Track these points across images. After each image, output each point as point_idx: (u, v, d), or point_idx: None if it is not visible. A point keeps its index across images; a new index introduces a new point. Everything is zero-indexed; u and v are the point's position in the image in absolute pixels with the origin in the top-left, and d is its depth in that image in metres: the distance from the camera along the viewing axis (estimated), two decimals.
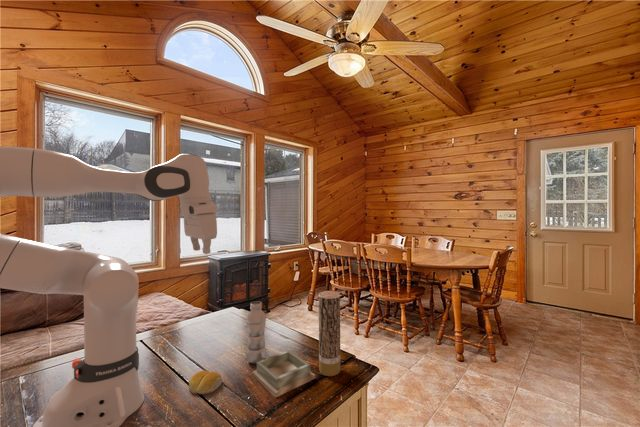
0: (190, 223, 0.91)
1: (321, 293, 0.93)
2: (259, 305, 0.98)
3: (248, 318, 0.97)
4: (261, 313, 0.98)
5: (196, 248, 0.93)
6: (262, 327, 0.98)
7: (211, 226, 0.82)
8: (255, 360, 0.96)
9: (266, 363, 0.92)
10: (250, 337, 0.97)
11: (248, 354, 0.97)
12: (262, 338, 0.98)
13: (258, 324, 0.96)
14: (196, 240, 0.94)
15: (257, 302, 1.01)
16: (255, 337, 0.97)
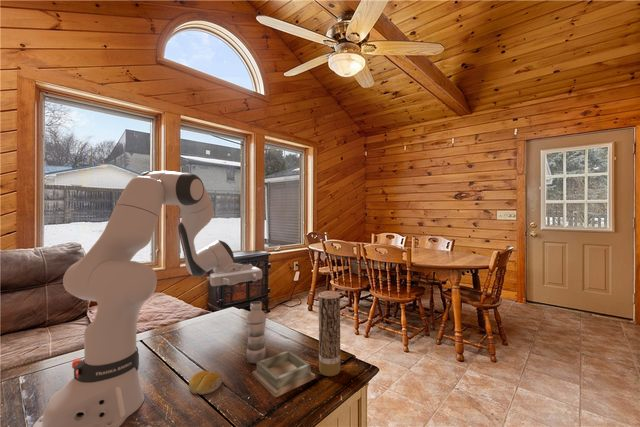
0: (228, 273, 1.15)
1: (321, 293, 0.93)
2: (259, 305, 0.98)
3: (248, 318, 0.97)
4: (261, 313, 0.98)
5: None
6: (262, 327, 0.98)
7: None
8: (255, 360, 0.96)
9: (266, 363, 0.92)
10: (250, 337, 0.97)
11: (248, 354, 0.97)
12: (262, 338, 0.98)
13: (258, 324, 0.96)
14: None
15: (257, 302, 1.01)
16: (255, 337, 0.97)
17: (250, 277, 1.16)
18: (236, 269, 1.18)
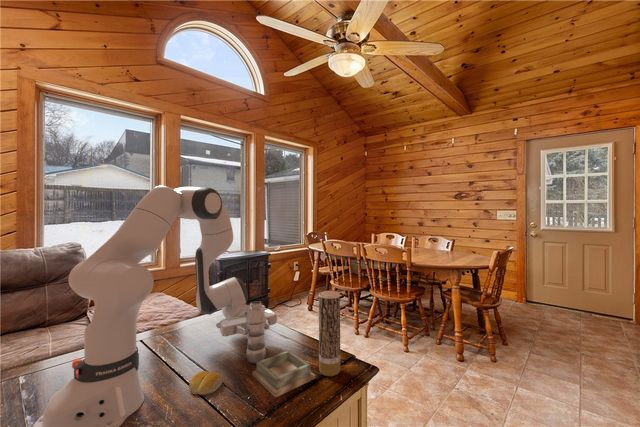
0: (239, 319, 1.04)
1: (321, 293, 0.93)
2: (259, 305, 0.98)
3: (248, 318, 0.97)
4: (261, 313, 0.98)
5: None
6: (262, 327, 0.97)
7: None
8: (255, 359, 0.96)
9: (266, 363, 0.92)
10: (250, 337, 0.97)
11: (248, 354, 0.97)
12: (262, 338, 0.98)
13: (258, 324, 0.96)
14: None
15: (256, 302, 1.01)
16: (255, 337, 0.97)
17: None
18: (248, 313, 1.07)
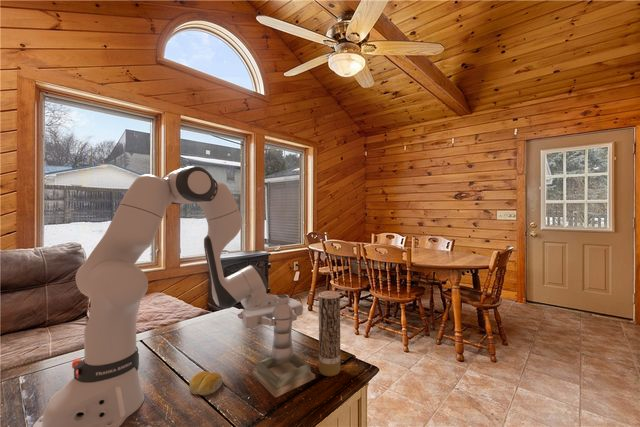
0: (263, 309, 0.95)
1: (321, 293, 0.93)
2: (286, 299, 0.88)
3: (274, 313, 0.88)
4: (288, 308, 0.88)
5: None
6: (289, 323, 0.88)
7: None
8: (281, 359, 0.87)
9: (266, 363, 0.92)
10: (276, 334, 0.88)
11: (274, 352, 0.88)
12: (289, 335, 0.88)
13: (285, 320, 0.87)
14: None
15: (283, 295, 0.91)
16: (282, 334, 0.87)
17: None
18: (272, 303, 0.98)
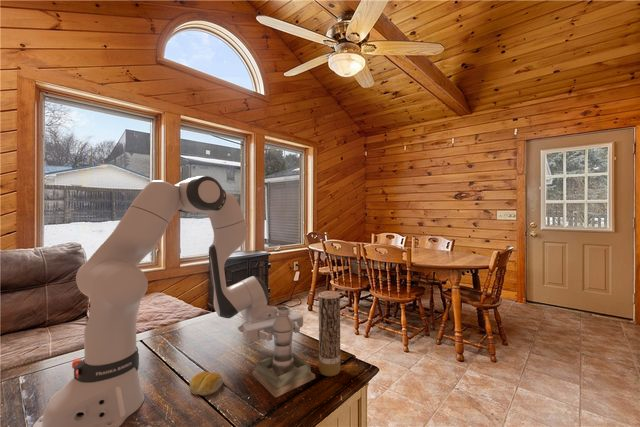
0: (263, 321, 0.95)
1: (321, 293, 0.93)
2: (286, 311, 0.88)
3: (274, 325, 0.88)
4: (288, 320, 0.89)
5: None
6: (290, 336, 0.88)
7: None
8: (282, 372, 0.87)
9: (266, 363, 0.92)
10: (276, 346, 0.88)
11: (274, 365, 0.88)
12: (289, 348, 0.88)
13: (285, 332, 0.87)
14: None
15: (284, 307, 0.91)
16: (282, 346, 0.87)
17: None
18: (272, 315, 0.98)
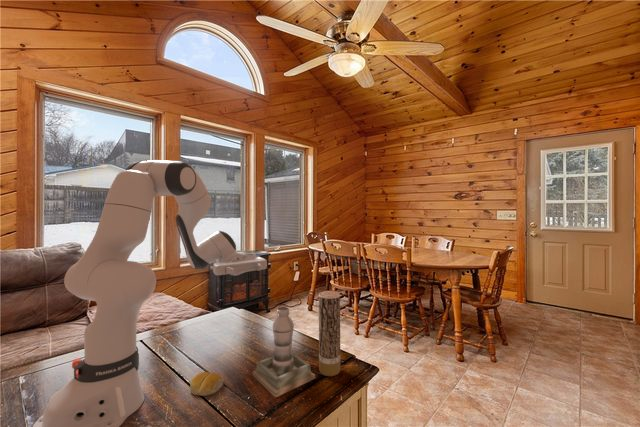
0: (231, 262, 1.11)
1: (321, 293, 0.93)
2: (286, 311, 0.88)
3: (274, 325, 0.88)
4: (288, 320, 0.89)
5: None
6: (290, 336, 0.88)
7: None
8: (282, 372, 0.87)
9: (266, 363, 0.92)
10: (276, 346, 0.88)
11: (274, 365, 0.88)
12: (289, 348, 0.88)
13: (285, 332, 0.87)
14: None
15: (284, 307, 0.91)
16: (282, 346, 0.87)
17: (254, 267, 1.12)
18: (240, 259, 1.15)
